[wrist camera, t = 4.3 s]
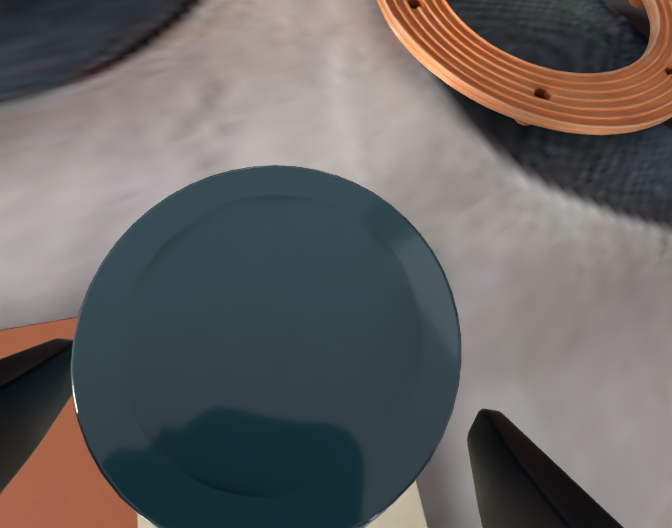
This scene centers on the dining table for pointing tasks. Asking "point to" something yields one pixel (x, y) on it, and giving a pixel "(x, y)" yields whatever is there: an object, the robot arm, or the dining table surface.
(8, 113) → the dining table surface
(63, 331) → the mat
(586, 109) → the ring
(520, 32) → the dining table surface
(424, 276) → the bottle with flat stopper
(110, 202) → the dining table surface
